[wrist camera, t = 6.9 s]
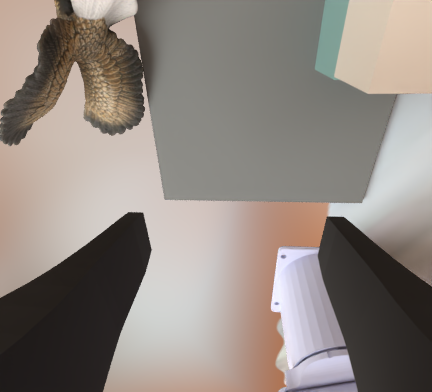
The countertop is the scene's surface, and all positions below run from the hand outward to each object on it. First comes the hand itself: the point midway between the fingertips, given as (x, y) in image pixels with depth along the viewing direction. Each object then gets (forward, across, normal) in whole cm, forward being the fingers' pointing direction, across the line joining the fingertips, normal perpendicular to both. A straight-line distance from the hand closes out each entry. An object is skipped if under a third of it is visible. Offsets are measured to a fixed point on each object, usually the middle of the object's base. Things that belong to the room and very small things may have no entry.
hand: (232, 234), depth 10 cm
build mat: (+10, -2, -4) cm, 11 cm away
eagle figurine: (+11, +9, -6) cm, 15 cm away
